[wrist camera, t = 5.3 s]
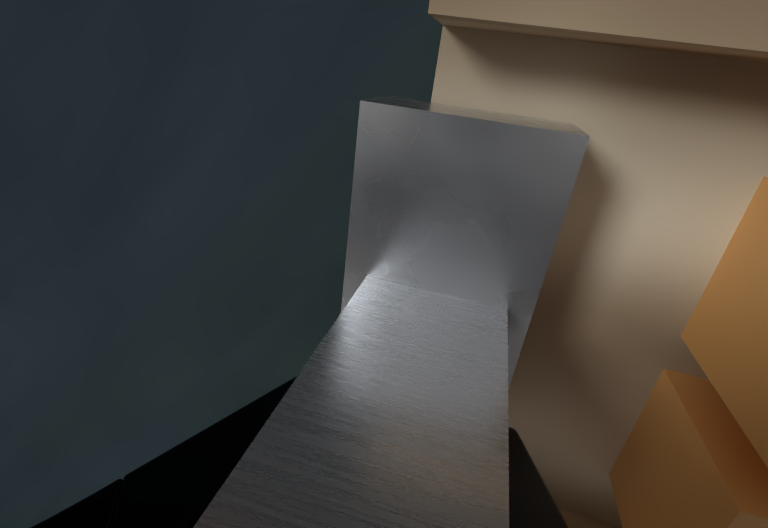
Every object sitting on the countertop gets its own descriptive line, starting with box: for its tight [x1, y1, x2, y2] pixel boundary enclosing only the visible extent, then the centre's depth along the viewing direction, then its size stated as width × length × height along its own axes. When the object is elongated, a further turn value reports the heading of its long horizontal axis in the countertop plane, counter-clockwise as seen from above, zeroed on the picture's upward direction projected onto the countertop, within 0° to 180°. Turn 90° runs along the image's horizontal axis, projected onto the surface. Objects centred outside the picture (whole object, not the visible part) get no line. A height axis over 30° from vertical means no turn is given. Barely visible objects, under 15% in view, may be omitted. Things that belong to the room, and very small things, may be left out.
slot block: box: [428, 0, 768, 528], centre depth 12 cm, size 16×14×6 cm
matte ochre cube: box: [609, 369, 768, 528], centre depth 10 cm, size 4×4×4 cm
